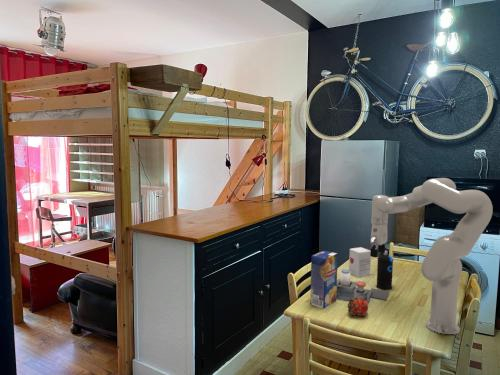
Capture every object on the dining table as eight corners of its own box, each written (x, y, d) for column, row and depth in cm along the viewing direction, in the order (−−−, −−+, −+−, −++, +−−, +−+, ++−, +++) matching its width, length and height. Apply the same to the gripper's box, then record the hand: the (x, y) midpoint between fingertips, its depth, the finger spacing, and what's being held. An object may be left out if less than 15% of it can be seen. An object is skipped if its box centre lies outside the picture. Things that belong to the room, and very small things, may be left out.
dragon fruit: (347, 321, 165) (362, 317, 173) (362, 315, 160) (377, 311, 168) (340, 302, 169) (355, 299, 177) (354, 296, 164) (369, 293, 171)
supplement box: (348, 272, 223) (349, 248, 222) (359, 270, 227) (360, 246, 225) (358, 277, 215) (359, 252, 213) (370, 275, 219) (371, 250, 217)
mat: (386, 300, 183) (386, 299, 183) (367, 297, 187) (367, 296, 187) (389, 292, 194) (389, 291, 194) (371, 289, 198) (371, 288, 198)
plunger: (364, 294, 179) (364, 285, 179) (354, 292, 181) (355, 283, 181) (366, 290, 183) (366, 282, 183) (356, 289, 186) (356, 280, 185)
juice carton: (324, 308, 174) (325, 259, 171) (310, 304, 179) (311, 255, 176) (336, 300, 183) (337, 253, 180) (323, 296, 188) (324, 250, 185)
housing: (367, 304, 178) (367, 294, 178) (330, 297, 187) (330, 288, 186) (372, 294, 191) (372, 284, 191) (337, 287, 200) (337, 278, 199)
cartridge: (348, 291, 189) (349, 272, 188) (338, 289, 192) (339, 271, 190) (350, 288, 194) (351, 269, 193) (341, 286, 196) (341, 268, 195)
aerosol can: (374, 288, 199) (376, 252, 197) (377, 283, 206) (378, 248, 204) (391, 291, 195) (392, 254, 193) (393, 286, 202) (394, 250, 200)
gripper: (380, 224, 172) (378, 260, 174) (393, 218, 185) (391, 252, 187) (364, 222, 177) (363, 257, 179) (378, 216, 190) (376, 249, 192)
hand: (377, 254), depth 183 cm, fingers open, 9 cm apart
